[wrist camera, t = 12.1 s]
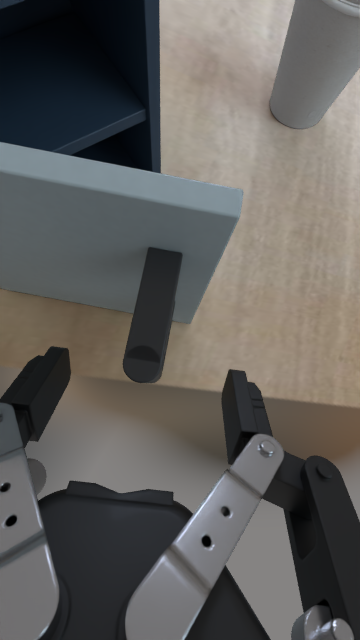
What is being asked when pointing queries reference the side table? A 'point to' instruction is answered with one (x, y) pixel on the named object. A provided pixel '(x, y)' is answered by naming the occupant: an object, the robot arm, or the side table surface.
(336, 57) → the dixie cup
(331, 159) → the side table surface
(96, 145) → the cabinet
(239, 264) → the side table surface
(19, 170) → the door
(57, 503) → the robot arm
